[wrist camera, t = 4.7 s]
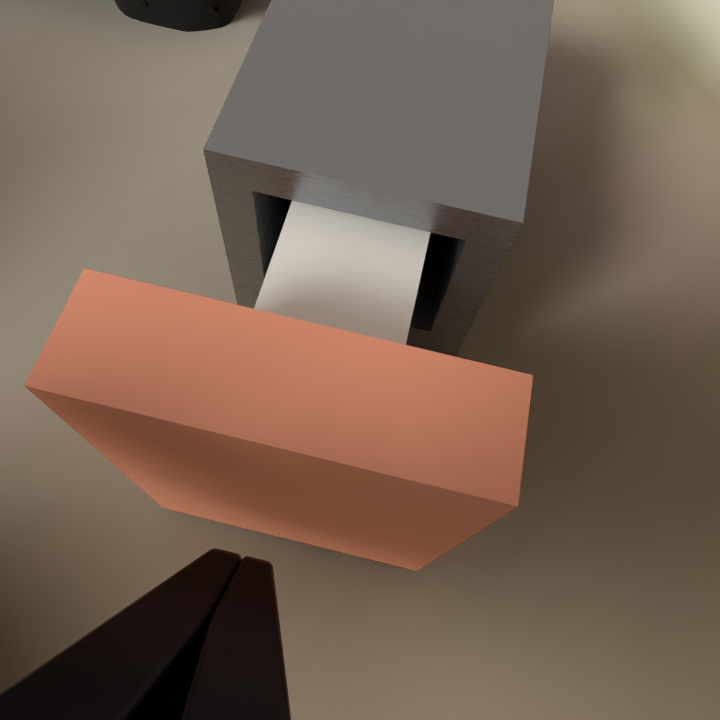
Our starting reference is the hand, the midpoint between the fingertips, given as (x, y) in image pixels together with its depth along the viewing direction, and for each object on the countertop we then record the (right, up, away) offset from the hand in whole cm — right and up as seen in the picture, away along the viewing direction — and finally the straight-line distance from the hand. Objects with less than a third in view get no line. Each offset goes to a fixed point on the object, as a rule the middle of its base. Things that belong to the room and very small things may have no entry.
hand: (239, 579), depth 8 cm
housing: (+2, +8, +13) cm, 16 cm away
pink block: (+1, +3, +10) cm, 11 cm away
